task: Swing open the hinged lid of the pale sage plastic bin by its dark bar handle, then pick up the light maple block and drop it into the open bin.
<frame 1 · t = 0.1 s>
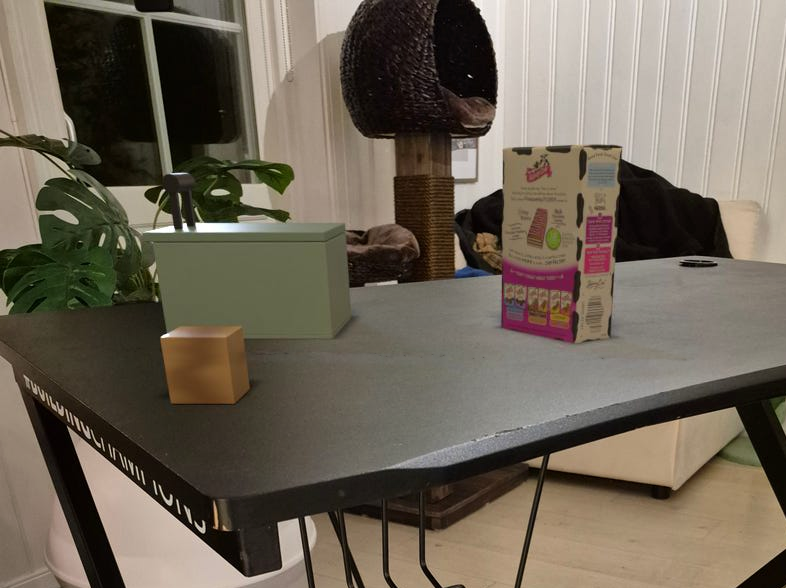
hand: (128, 3, 71), 26 cm above the table, tool pointing down, fingers open, 9 cm apart
lid: (247, 205, 85), point 12 cm above the table, hinge at 0.0°
candy bar box: (554, 339, 88), on the table
block: (211, 396, 67), on the table
bin: (265, 332, 91), on the table
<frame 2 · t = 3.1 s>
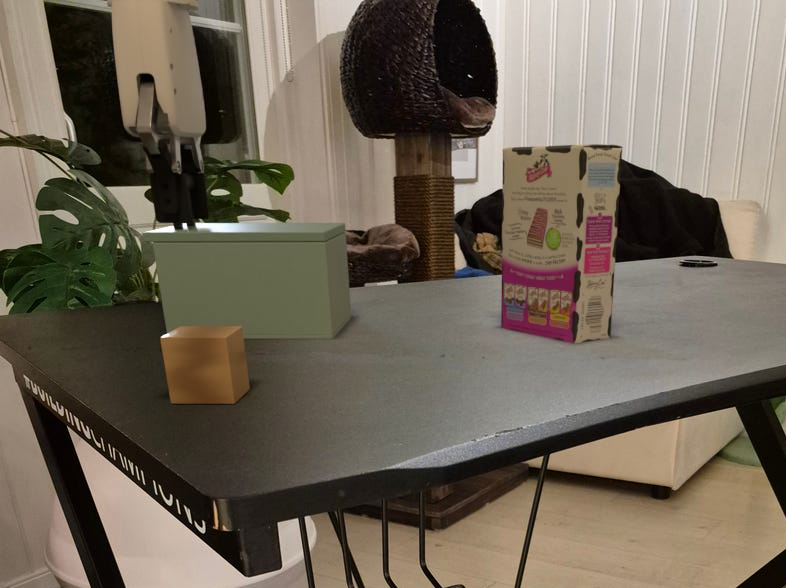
hand: (183, 218, 86), 10 cm above the table, tool pointing down, fingers closed on lid, 5 cm apart
lid: (247, 205, 85), point 12 cm above the table, hinge at 0.0°, touching gripper
everything else where it was.
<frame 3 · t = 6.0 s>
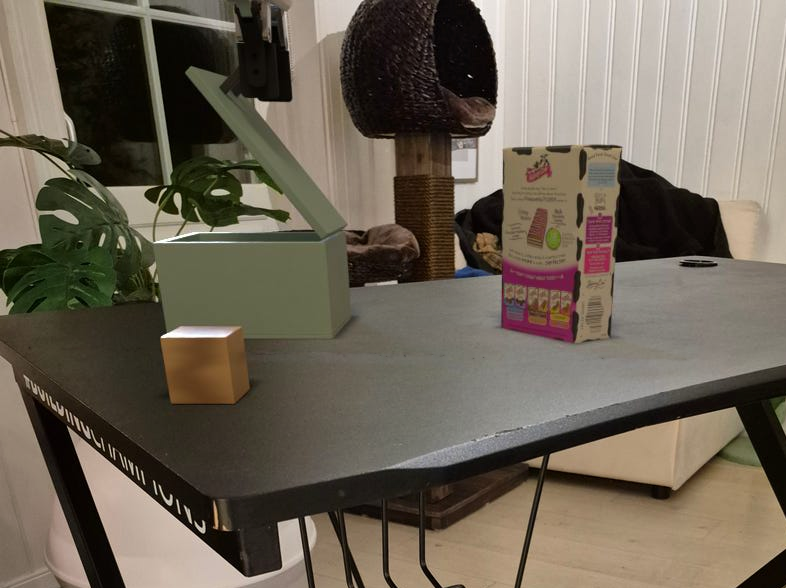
hand: (267, 97, 81), 20 cm above the table, tool pointing down, fingers closed on lid, 5 cm apart
lid: (292, 138, 83), point 17 cm above the table, hinge at 51.1°, touching gripper
everything else where it was.
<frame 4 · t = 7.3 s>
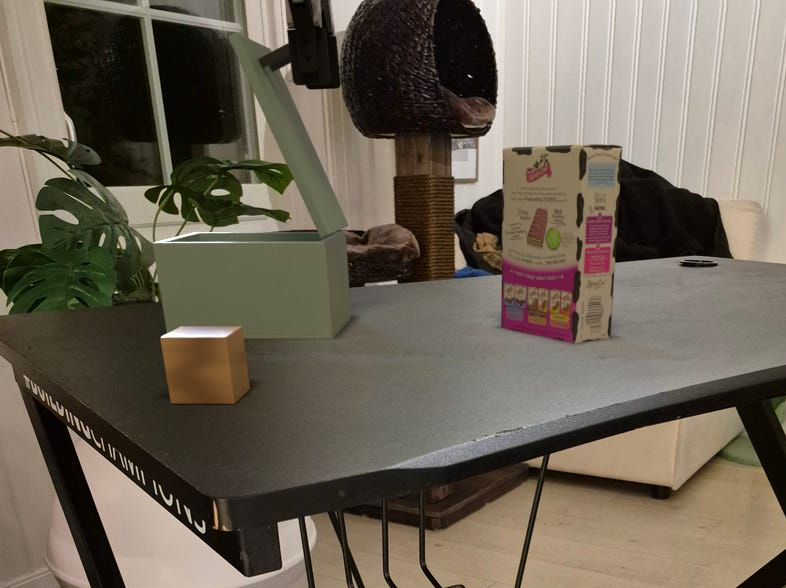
hand: (317, 84, 81), 21 cm above the table, tool pointing down, fingers closed on lid, 5 cm apart
lid: (317, 130, 82), point 18 cm above the table, hinge at 67.4°, touching gripper
everything else where it was.
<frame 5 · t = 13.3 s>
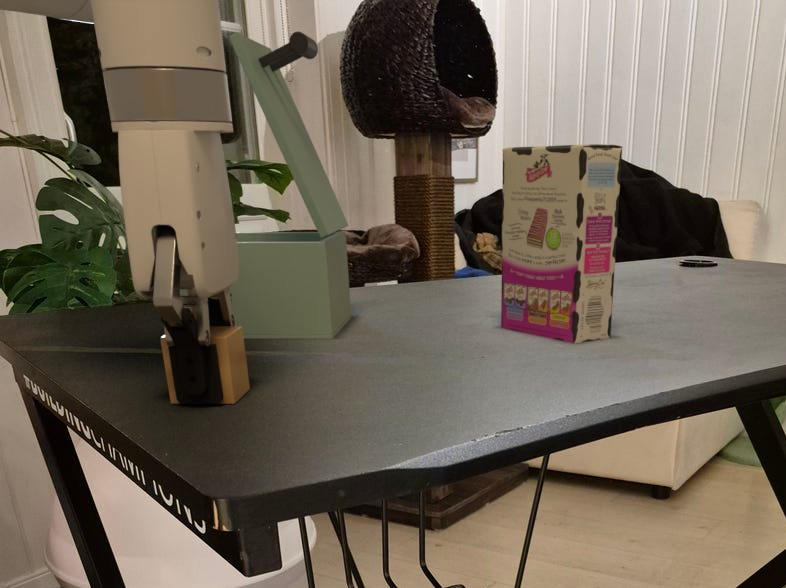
hand: (210, 391, 66), 0 cm above the table, tool pointing down, fingers closed on block, 4 cm apart
lid: (317, 130, 82), point 18 cm above the table, hinge at 67.6°
block: (211, 396, 67), on the table, touching gripper
everything else where it was.
when the fingers open (13 cm above the table, at t = 19.6 s): block drops 12 cm, resting on bin.
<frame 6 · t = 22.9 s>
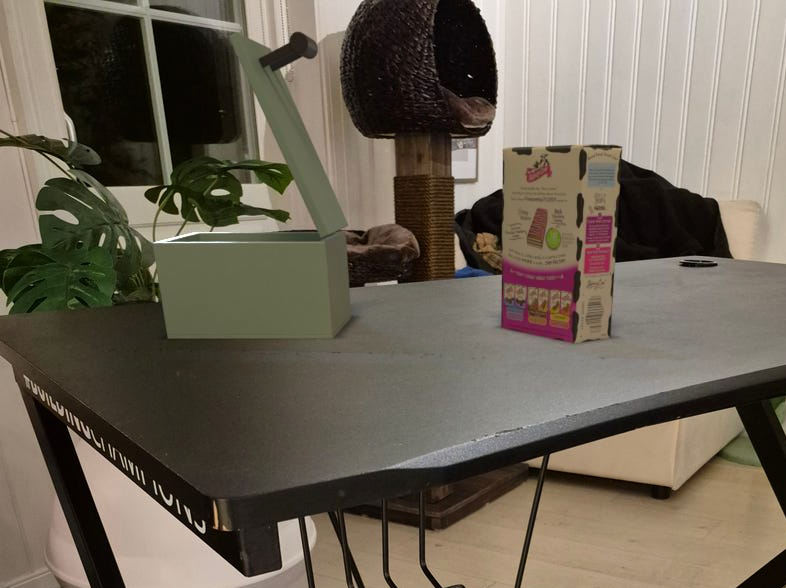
block: (234, 324, 90), point 1 cm above the table, touching bin
everything else where it was.
at the end: lid at +68° (first picture: +0°); block inside the target area in the bin (3.0 cm from its centre), point 0.8 cm above the bin's base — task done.
